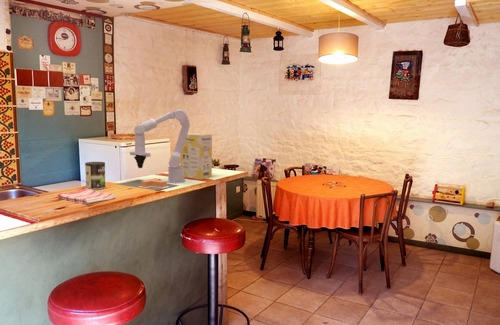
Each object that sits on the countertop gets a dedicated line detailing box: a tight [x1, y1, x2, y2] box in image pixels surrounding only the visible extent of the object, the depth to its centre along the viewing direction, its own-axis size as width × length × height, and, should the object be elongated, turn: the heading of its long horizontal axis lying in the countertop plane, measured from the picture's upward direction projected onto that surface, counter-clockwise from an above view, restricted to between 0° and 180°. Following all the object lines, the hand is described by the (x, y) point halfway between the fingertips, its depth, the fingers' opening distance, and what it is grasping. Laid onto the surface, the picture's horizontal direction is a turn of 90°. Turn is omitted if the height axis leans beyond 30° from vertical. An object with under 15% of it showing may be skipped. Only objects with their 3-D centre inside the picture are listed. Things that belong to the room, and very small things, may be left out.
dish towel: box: [57, 187, 117, 205], centre depth 204 cm, size 17×23×4 cm
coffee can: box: [84, 161, 106, 191], centre depth 228 cm, size 10×10×14 cm
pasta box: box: [179, 132, 213, 180], centre depth 270 cm, size 18×10×28 cm, turn 53°
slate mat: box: [117, 179, 179, 192], centre depth 240 cm, size 18×31×1 cm, turn 60°
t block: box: [141, 177, 168, 188], centre depth 236 cm, size 12×12×3 cm
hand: (140, 168), depth 246 cm, fingers closed
